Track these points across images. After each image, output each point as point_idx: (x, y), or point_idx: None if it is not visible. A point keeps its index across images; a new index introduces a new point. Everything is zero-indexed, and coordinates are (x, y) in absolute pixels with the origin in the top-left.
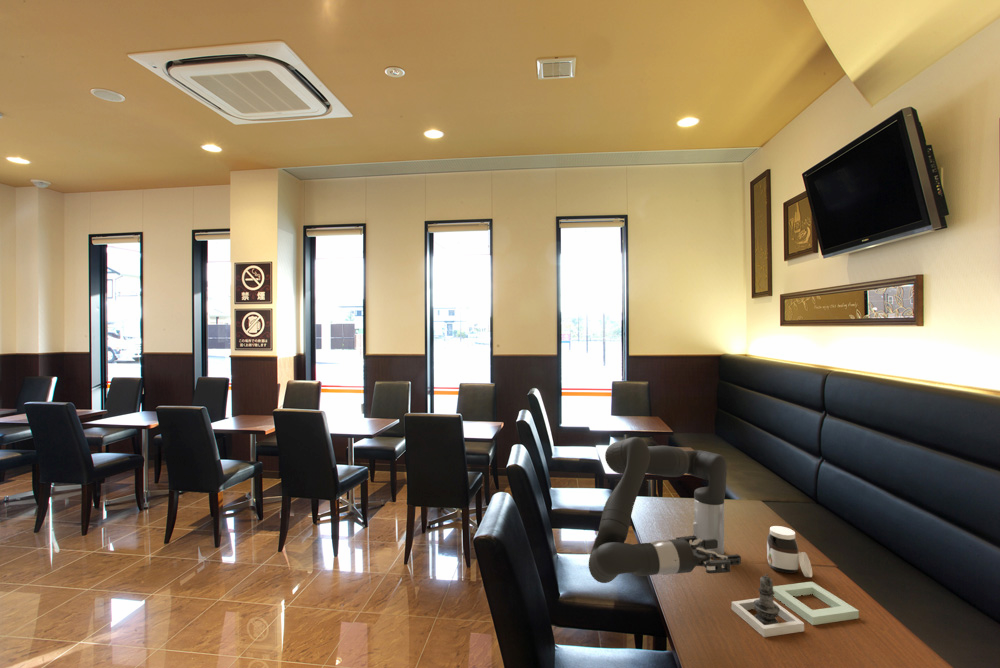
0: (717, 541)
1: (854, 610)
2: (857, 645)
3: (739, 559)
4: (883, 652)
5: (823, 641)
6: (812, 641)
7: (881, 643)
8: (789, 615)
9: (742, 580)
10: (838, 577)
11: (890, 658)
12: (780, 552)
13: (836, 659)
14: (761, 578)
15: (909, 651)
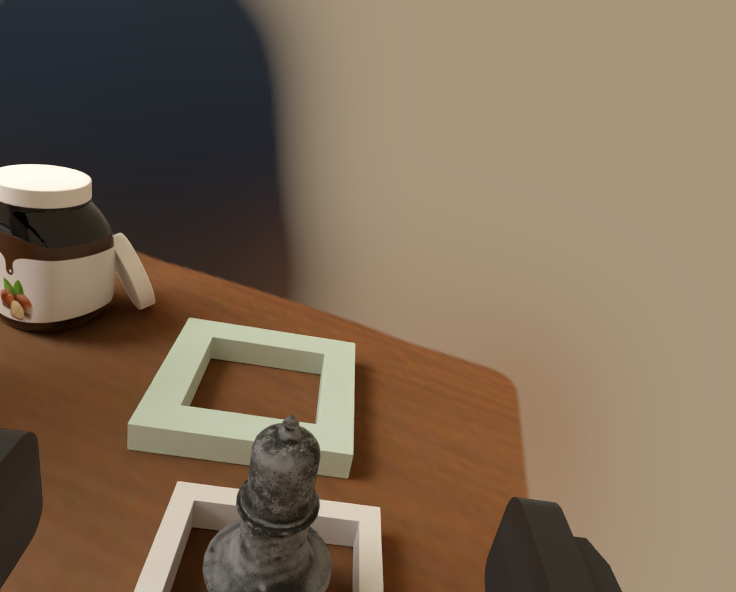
0: (34, 443)
1: (351, 348)
2: (462, 454)
3: (589, 559)
4: (493, 428)
5: (437, 521)
6: (433, 556)
7: (456, 403)
8: (321, 514)
9: None
10: (187, 272)
11: (518, 435)
12: (67, 262)
13: None
14: (274, 460)
15: (488, 385)
